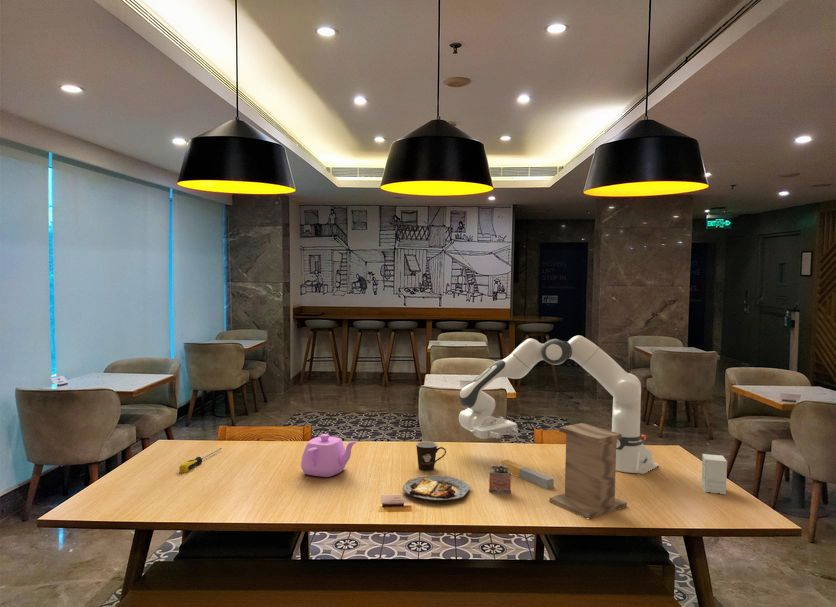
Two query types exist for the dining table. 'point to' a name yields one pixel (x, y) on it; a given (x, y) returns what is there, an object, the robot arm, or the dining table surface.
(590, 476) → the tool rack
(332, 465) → the teapot
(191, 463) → the screwdriver
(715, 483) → the supplement box
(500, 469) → the lighter
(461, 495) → the food plate
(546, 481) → the gray and orange bar
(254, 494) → the dining table surface
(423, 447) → the coffee mug
